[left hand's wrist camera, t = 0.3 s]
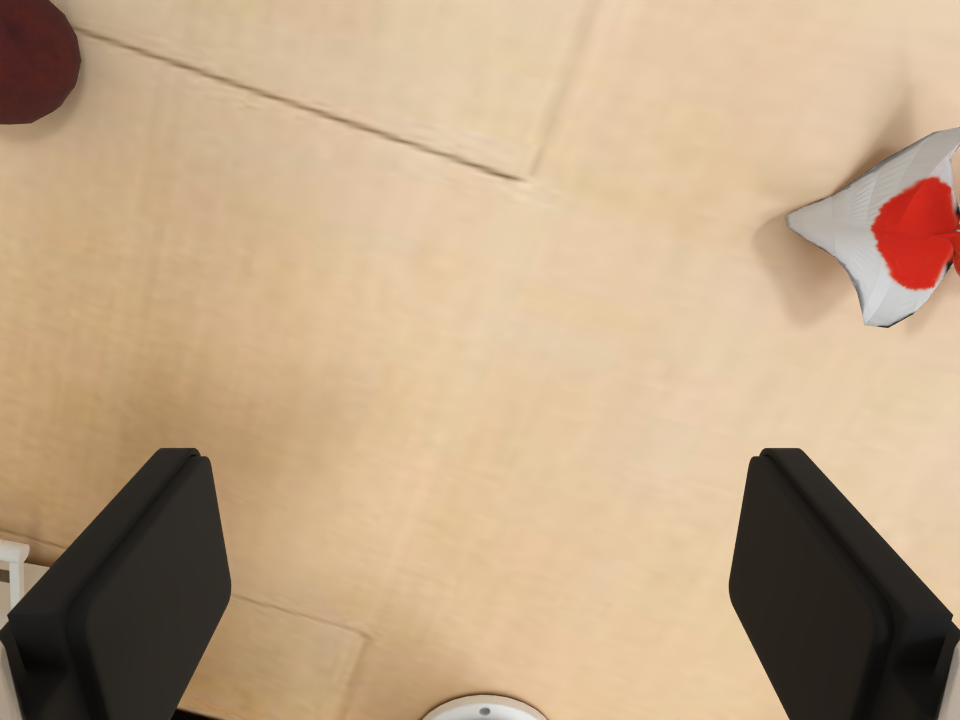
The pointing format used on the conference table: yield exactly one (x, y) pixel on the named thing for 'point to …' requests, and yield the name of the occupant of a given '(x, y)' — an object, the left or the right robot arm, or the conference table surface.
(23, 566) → the drawer
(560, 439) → the conference table surface
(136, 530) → the left robot arm
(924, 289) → the fish
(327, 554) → the conference table surface
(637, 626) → the conference table surface
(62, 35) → the dark maroon ball
